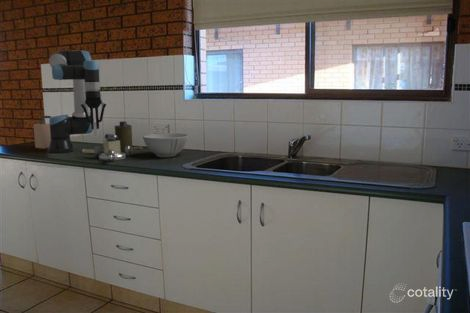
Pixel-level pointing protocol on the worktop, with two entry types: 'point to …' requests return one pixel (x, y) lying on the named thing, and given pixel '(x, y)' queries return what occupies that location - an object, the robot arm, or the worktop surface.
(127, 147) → the knob
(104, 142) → the tribrach plate
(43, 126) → the soap dispenser
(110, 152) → the knob
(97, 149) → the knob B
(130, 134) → the canister
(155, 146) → the decorative bowl
